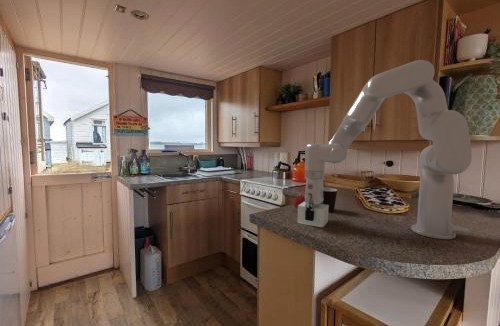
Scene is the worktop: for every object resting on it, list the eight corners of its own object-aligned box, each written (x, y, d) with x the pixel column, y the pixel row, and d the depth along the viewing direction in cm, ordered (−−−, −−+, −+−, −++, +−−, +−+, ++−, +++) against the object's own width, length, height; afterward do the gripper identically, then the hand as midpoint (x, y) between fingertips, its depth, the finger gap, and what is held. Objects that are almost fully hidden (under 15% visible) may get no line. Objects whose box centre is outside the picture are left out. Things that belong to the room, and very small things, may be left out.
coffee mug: (339, 213, 110) (340, 191, 109) (320, 212, 110) (320, 191, 110) (331, 206, 122) (331, 186, 121) (313, 206, 122) (314, 186, 121)
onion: (298, 213, 110) (299, 195, 109) (290, 209, 115) (291, 193, 114) (308, 211, 112) (309, 194, 112) (300, 208, 117) (300, 192, 117)
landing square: (326, 220, 99) (326, 220, 99) (321, 227, 91) (321, 226, 91) (305, 217, 103) (305, 216, 103) (298, 223, 96) (298, 222, 96)
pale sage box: (327, 221, 98) (328, 205, 97) (323, 227, 91) (323, 209, 91) (303, 217, 103) (303, 201, 103) (297, 222, 96) (297, 205, 96)
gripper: (318, 178, 86) (316, 224, 88) (329, 173, 101) (327, 213, 103) (297, 176, 90) (296, 221, 92) (311, 172, 105) (310, 210, 106)
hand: (312, 217), depth 97 cm, fingers open, 9 cm apart
